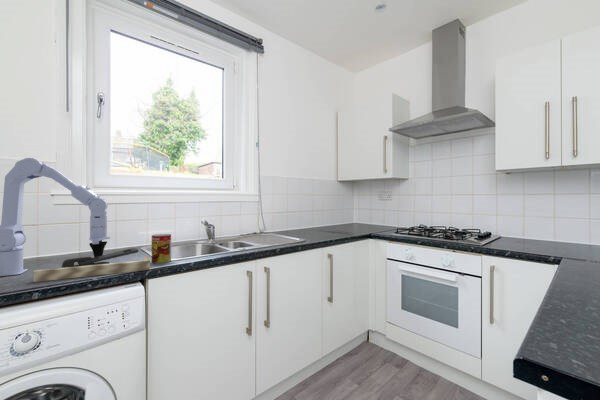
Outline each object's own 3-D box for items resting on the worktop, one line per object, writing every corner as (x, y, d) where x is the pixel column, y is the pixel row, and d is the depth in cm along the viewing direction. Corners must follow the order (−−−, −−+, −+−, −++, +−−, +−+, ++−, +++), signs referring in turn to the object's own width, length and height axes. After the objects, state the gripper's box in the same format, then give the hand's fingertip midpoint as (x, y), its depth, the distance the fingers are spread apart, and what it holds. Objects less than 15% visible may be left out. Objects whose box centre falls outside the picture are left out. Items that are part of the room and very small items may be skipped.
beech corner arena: (33, 282, 91) (33, 271, 91) (46, 273, 102) (46, 264, 102) (150, 269, 107) (150, 260, 107) (149, 263, 119) (149, 255, 119)
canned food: (149, 261, 124) (149, 234, 124) (168, 258, 129) (168, 233, 129) (154, 263, 118) (154, 236, 118) (173, 261, 123) (173, 234, 123)
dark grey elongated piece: (140, 249, 116) (62, 258, 98) (140, 265, 116) (62, 277, 98) (134, 247, 122) (59, 255, 104) (134, 262, 122) (59, 272, 104)
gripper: (107, 227, 110) (107, 261, 110) (112, 225, 123) (112, 255, 123) (85, 228, 107) (85, 263, 107) (92, 226, 120) (92, 257, 120)
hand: (98, 259), depth 115 cm, fingers closed
